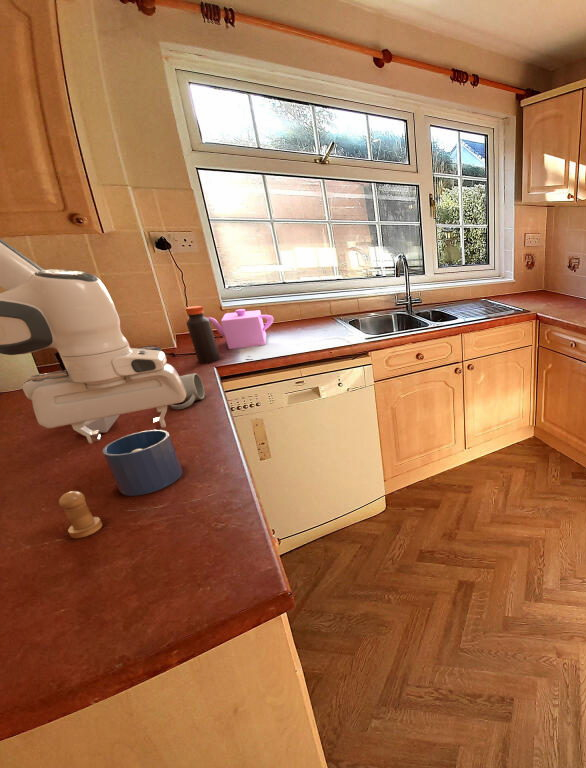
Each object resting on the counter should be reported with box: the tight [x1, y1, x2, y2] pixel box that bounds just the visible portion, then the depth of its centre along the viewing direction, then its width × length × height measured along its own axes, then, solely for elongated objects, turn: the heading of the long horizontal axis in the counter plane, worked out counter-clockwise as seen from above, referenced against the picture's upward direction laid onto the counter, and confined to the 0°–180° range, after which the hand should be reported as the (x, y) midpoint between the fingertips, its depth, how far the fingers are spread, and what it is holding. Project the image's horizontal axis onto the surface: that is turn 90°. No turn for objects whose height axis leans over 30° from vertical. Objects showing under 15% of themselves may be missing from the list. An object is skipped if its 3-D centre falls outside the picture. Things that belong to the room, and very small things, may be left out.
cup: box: [101, 429, 184, 497], centre depth 84 cm, size 10×10×9 cm
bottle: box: [185, 305, 221, 364], centre depth 153 cm, size 7×7×20 cm
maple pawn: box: [58, 490, 103, 539], centre depth 71 cm, size 4×4×8 cm
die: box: [84, 414, 121, 434], centre depth 105 cm, size 8×9×10 cm
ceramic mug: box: [169, 372, 205, 410], centre depth 120 cm, size 11×8×8 cm
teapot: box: [205, 308, 275, 350], centre depth 177 cm, size 15×25×14 cm, turn 117°
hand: (129, 434), depth 79 cm, fingers open, 8 cm apart
